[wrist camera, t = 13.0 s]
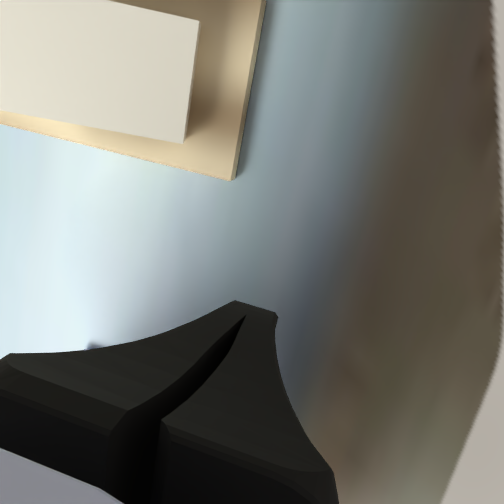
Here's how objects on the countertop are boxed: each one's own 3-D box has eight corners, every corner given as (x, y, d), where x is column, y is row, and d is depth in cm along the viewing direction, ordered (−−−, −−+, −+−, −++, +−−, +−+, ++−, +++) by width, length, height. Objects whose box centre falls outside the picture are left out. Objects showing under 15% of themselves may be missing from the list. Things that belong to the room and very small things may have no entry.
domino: (182, 144, 19) (-19, 106, 18) (185, 138, 21) (1, 103, 20) (199, 20, 17) (-24, -30, 16) (200, 25, 19) (-2, -20, 18)
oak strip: (235, 178, 22) (230, 181, 21) (-139, 86, 26) (-154, 85, 25) (266, 1, 19) (262, -3, 18) (-161, -71, 23) (-178, -77, 22)
